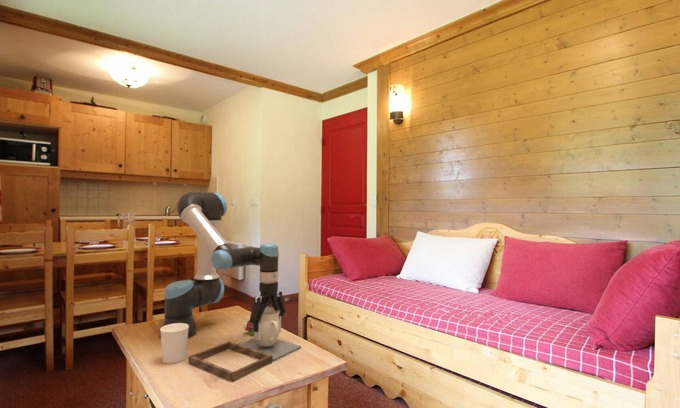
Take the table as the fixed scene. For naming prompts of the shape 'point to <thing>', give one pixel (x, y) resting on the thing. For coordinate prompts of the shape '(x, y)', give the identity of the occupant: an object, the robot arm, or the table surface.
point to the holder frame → (224, 373)
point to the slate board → (273, 348)
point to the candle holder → (174, 342)
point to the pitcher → (269, 327)
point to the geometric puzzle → (249, 327)
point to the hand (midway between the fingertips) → (267, 335)
